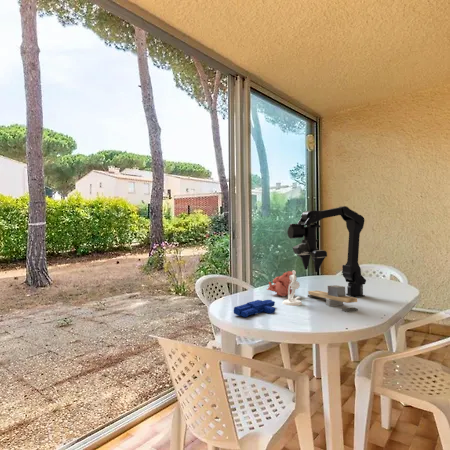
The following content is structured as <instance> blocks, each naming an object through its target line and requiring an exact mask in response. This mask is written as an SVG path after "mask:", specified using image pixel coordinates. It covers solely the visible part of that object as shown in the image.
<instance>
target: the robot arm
mask: <svg viewBox="0 0 450 450" xmlns="http://www.w3.org/2000/svg"><path fill="white" fill-rule="evenodd" d="M301 213H302V214H301V215H300V218H299V220H298V221H297V223H289V227H288V229H287V236H288V238H289V239H290V240H291V239H301V243H297V245H294V246H293V247H292V250H293V254H294V255H296V256H298V258H300V260H301V262H302V265H303V268H304V270H308V268H309V264H310V259H311V260H312V261H313V265H314V266H313V267H314V268H313V269H314V272H315V273H318V272H319V270H320V268H321V265H322V264H323V262H324V260H325V259H326V258H327V257H328V252H327V250H325V249H319V248H318V247H317V244H318V242H319V239H317V228H321V225H319V223H317V222H319V221H321V220H323V219H327V218H332V217H337V216H340V217H341V219H342V220H343V221H344V222H345V224H346V225H345V227H346V229H347V231H348V241H347V242H348V245H347V261H346V262H345V264H342V268H341V269H342V271H341V274H342V277H344V279H345V282H346V283H347V289H346V292H347V293H346V296H348V297H354V298H361V297H366V294H364V285H365V284H366V282H367V280H366V278H365V277H364V276H363V275H362V270H361V267H360V264H359V252H360V237H361V236H360V234H361V232H362V231H363V229H364V225H365V218H364V216H363V215H361V214H359V213H358V212H356V211H354V210H352V209H351V208H350V207H348V206H345V205H343V206H342V205H340V206H338V207H334V208H328V209H323V210H305V211H303V212H301Z"/></svg>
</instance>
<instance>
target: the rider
mask: <svg viewBox="0 0 450 450" xmlns="http://www.w3.org/2000/svg"><path fill="white" fill-rule="evenodd" d="M327 292H328V295H331V296H335V297H343V296H347V295H346V294H347V293H346V286H342V285H327Z"/></svg>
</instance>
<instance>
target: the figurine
mask: <svg viewBox="0 0 450 450" xmlns="http://www.w3.org/2000/svg"><path fill="white" fill-rule="evenodd" d="M292 273H293V275H290V276H289V277H290V280H291V281H292V282H291V284H290V285H289V288H288V295H287V299H284V300H283V301H282V305H285V306H292V307H293V306H302V304H303V303H302V302H303V301H301V300H300V298H301V297H300V296H296V297H294V296H295V294H296V290H297V289H299V288H300V285H301V284H300V282H299V281H297V275H296V274H297V271H296V270H295V269H294V270H292ZM295 275H296V276H295ZM290 286H291V289H292V293H291V294H290Z"/></svg>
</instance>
